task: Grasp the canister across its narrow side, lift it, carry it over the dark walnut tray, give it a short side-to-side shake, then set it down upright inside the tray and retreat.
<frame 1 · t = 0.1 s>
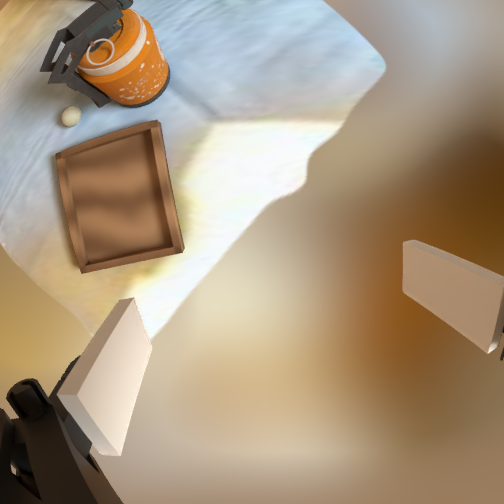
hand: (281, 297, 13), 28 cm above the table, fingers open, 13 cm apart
ball: (76, 118, 33), on the table
canister: (135, 85, 33), on the table
tray: (118, 198, 37), on the table
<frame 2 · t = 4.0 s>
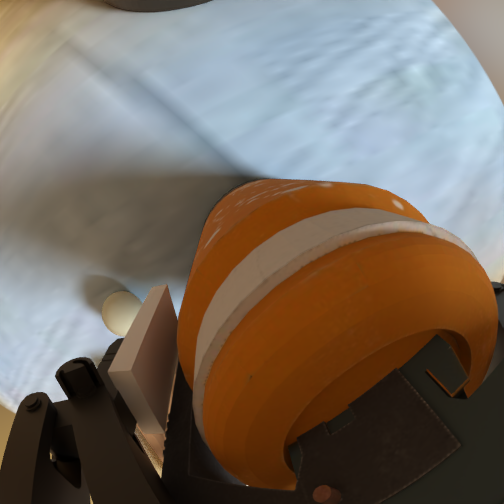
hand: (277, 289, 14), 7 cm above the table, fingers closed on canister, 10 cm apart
ball: (129, 304, 20), on the table
canister: (254, 252, 20), on the table, touching gripper
tray: (231, 421, 24), on the table
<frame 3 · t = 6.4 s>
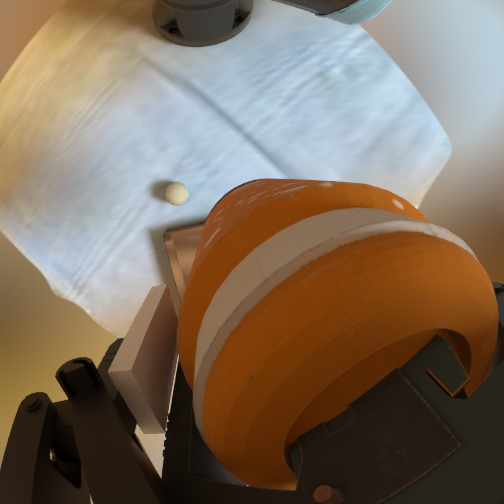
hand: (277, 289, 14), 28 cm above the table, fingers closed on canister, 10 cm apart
ball: (178, 192, 39), on the table
canister: (254, 252, 20), point 22 cm above the table, touching gripper
tray: (231, 277, 43), on the table
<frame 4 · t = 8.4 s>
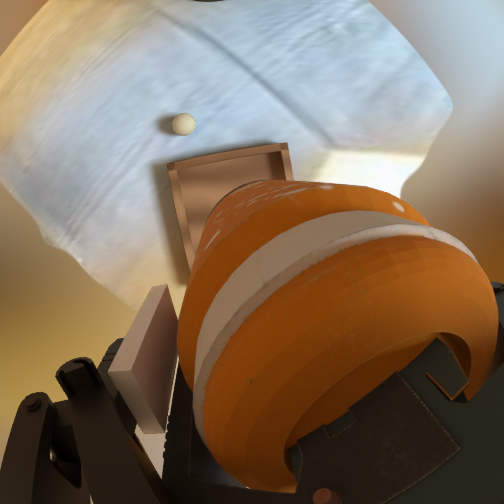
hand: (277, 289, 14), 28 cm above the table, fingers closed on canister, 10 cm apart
ball: (185, 126, 36), on the table
canister: (254, 253, 20), point 21 cm above the table, touching gripper
tray: (238, 216, 40), on the table
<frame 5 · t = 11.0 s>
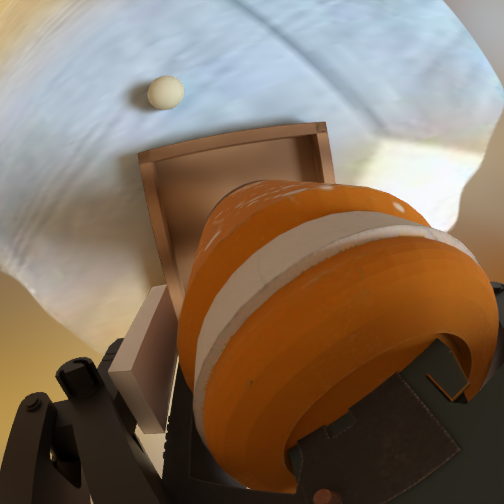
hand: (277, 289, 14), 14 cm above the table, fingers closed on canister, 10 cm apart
ball: (168, 97, 22), on the table
canister: (254, 253, 20), point 7 cm above the table, touching gripper
tray: (248, 232, 27), on the table
when the fingers open (9 cm above the table, at t = 13.1 s): canister drops 1 cm, resting on tray.
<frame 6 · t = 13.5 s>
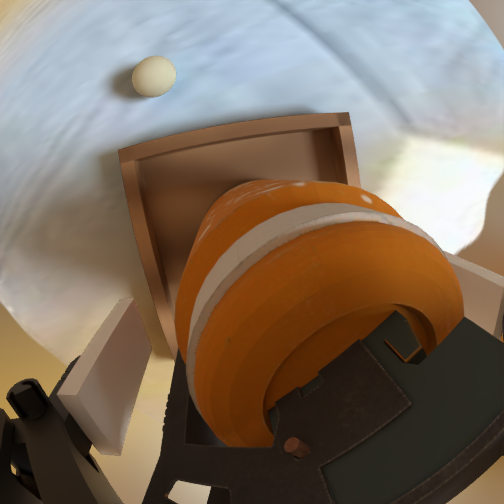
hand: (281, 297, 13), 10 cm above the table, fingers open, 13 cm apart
ball: (158, 83, 18), on the table
canister: (249, 249, 21), point 1 cm above the table, touching tray
tray: (254, 246, 22), on the table
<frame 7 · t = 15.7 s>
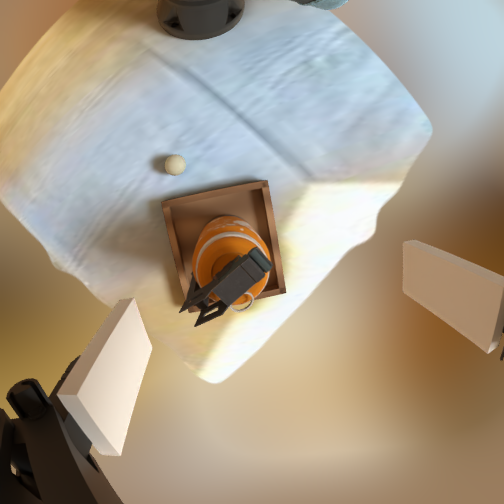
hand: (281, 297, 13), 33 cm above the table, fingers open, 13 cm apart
ball: (176, 165, 42), on the table
canister: (222, 247, 45), point 1 cm above the table, touching tray
tray: (225, 245, 46), on the table
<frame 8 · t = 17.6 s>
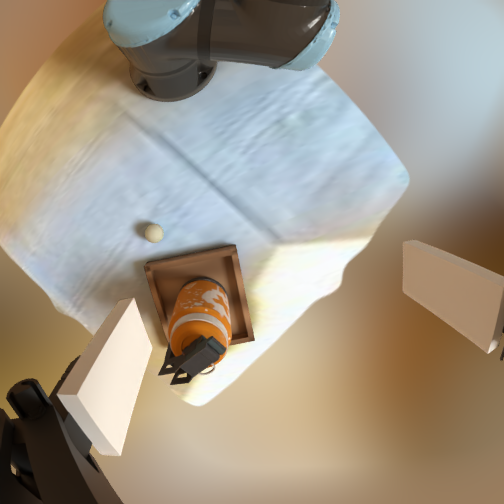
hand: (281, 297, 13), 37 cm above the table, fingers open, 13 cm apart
ball: (156, 231, 47), on the table
canister: (199, 302, 51), point 1 cm above the table, touching tray
tray: (201, 300, 51), on the table
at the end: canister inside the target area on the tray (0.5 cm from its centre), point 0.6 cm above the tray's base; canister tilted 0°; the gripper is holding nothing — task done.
